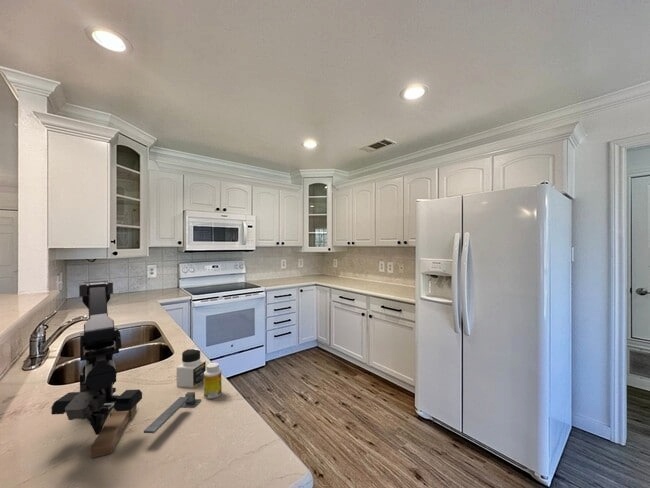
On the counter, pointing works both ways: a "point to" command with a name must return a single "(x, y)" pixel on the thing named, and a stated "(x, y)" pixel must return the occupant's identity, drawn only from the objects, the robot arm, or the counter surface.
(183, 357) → the medicine bottle
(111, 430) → the tan wooden bar
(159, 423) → the grey flat bar piece
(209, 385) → the supplement bottle
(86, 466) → the counter surface
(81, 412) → the robot arm
